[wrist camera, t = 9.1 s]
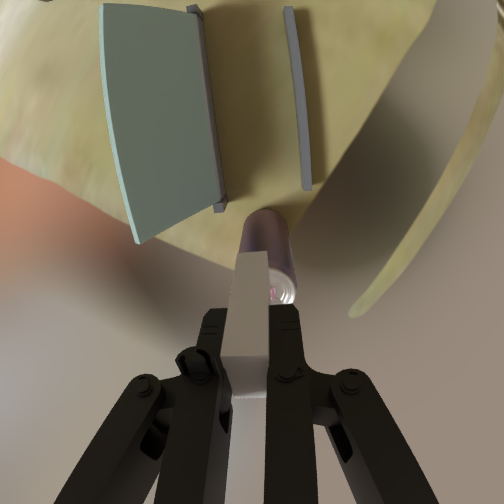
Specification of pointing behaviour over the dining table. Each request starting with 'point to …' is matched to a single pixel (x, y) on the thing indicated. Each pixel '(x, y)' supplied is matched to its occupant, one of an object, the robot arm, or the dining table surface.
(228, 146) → the dining table surface
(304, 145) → the plastic rails
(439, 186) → the dining table surface
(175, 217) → the cover
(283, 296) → the beverage can
